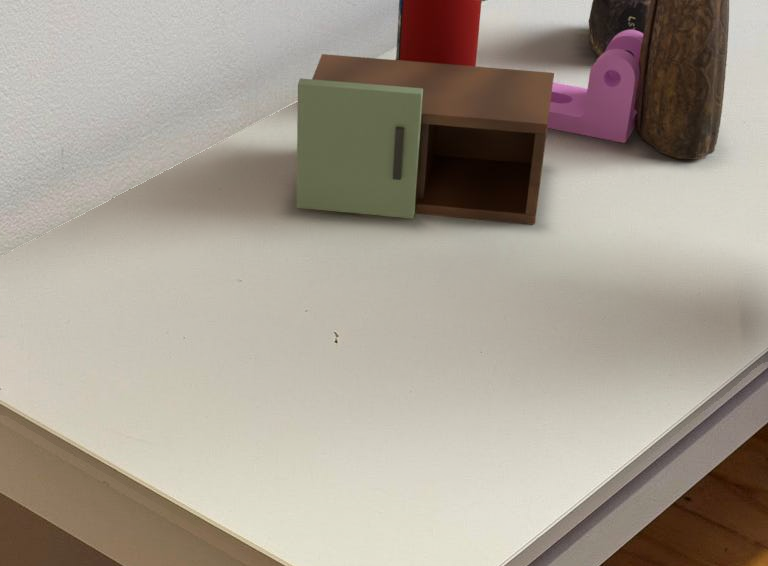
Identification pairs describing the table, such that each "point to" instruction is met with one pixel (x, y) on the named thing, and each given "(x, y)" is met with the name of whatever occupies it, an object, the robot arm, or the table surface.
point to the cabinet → (468, 133)
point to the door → (358, 147)
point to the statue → (615, 20)
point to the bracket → (602, 94)
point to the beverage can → (438, 31)
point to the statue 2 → (682, 76)
